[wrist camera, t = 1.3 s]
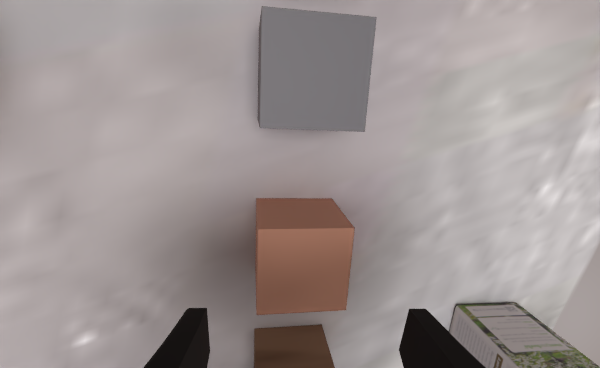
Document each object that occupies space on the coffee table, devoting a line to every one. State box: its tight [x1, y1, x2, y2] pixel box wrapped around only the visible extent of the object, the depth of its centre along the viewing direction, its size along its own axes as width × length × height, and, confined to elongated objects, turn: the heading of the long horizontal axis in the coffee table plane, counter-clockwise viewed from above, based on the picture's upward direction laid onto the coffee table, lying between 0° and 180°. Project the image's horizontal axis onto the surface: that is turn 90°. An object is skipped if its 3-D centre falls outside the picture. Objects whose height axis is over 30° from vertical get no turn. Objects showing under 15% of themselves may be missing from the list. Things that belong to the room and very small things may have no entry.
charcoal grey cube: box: [258, 6, 376, 132], centre depth 17 cm, size 5×5×5 cm
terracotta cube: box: [255, 198, 355, 315], centre depth 19 cm, size 5×5×5 cm
